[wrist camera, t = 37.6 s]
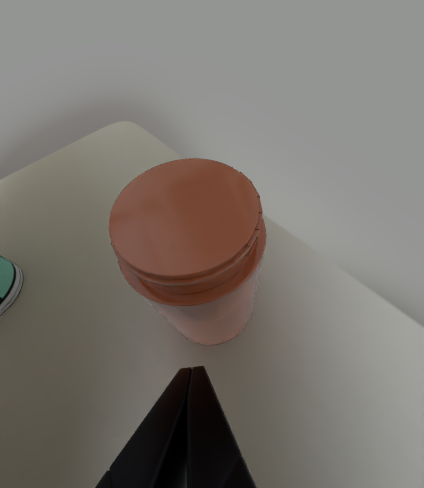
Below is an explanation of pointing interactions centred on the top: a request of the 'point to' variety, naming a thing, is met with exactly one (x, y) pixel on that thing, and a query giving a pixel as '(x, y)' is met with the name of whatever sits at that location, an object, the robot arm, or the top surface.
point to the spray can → (9, 283)
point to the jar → (192, 245)
